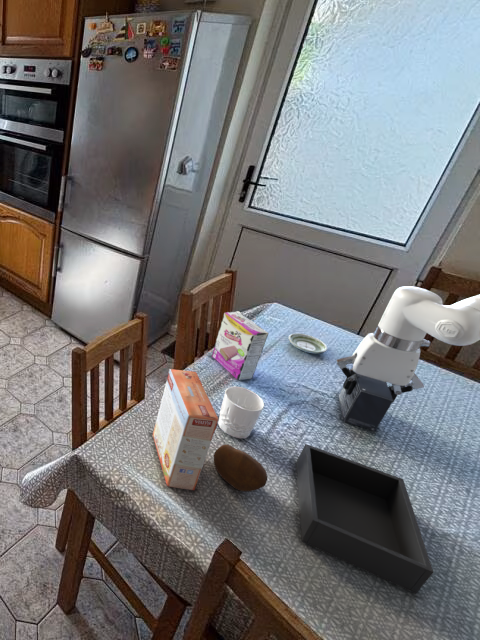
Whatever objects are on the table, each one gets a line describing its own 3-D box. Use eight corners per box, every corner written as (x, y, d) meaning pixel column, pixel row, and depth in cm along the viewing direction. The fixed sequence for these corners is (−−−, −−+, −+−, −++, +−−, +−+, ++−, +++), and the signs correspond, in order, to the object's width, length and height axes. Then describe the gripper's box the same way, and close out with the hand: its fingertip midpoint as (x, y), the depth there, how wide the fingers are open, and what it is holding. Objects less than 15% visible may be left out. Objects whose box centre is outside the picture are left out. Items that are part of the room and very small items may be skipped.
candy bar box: (209, 357, 126) (223, 311, 119) (224, 355, 126) (238, 310, 119) (237, 382, 116) (253, 334, 109) (252, 380, 116) (270, 332, 109)
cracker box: (196, 492, 87) (221, 419, 78) (165, 487, 88) (186, 415, 79) (178, 438, 99) (197, 370, 90) (151, 434, 100) (168, 367, 91)
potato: (215, 456, 94) (224, 431, 91) (265, 485, 88) (276, 459, 84) (203, 476, 90) (212, 451, 86) (254, 508, 83) (266, 482, 80)
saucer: (319, 343, 131) (322, 336, 130) (329, 361, 123) (332, 355, 122) (283, 336, 135) (285, 329, 134) (290, 353, 127) (292, 347, 126)
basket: (388, 501, 84) (403, 479, 81) (414, 595, 69) (433, 572, 67) (295, 465, 92) (305, 443, 89) (300, 542, 77) (312, 519, 74)
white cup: (258, 444, 97) (270, 412, 93) (221, 439, 98) (232, 408, 94) (243, 418, 104) (255, 388, 100) (210, 414, 105) (220, 384, 101)
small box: (377, 434, 99) (395, 401, 95) (342, 422, 102) (358, 390, 98) (368, 406, 107) (385, 374, 103) (336, 396, 110) (351, 365, 106)
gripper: (444, 341, 93) (409, 401, 101) (345, 319, 102) (320, 375, 109) (455, 360, 87) (417, 421, 95) (350, 334, 96) (323, 392, 104)
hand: (365, 396), depth 102 cm, fingers closed on small box, 6 cm apart
